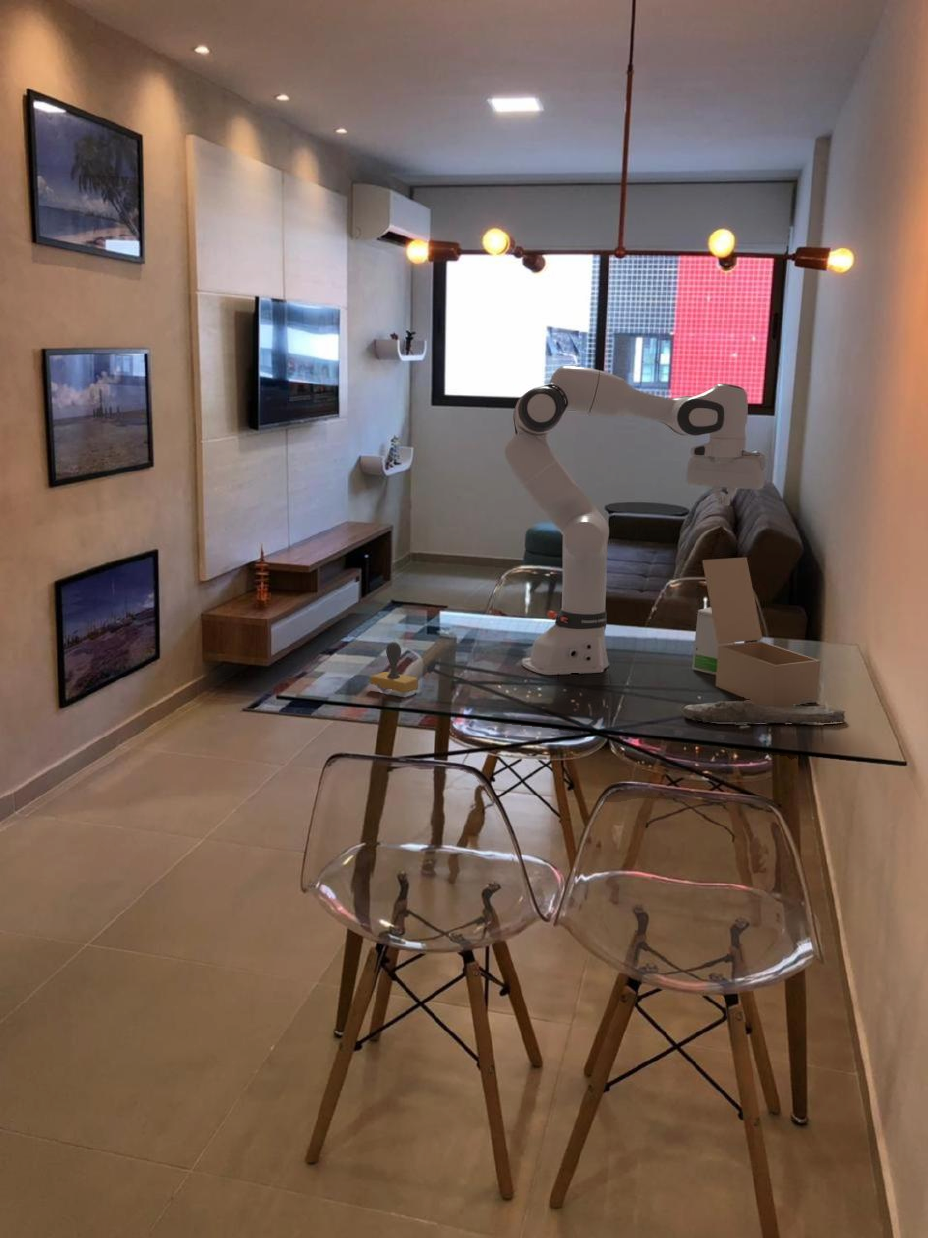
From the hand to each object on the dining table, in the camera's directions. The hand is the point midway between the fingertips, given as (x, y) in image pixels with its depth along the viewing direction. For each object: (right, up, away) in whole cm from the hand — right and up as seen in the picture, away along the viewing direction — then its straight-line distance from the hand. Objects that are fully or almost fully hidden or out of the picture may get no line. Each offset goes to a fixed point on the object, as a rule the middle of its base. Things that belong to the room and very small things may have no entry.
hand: (723, 504), depth 272 cm
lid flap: (-1, -24, -13) cm, 28 cm away
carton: (+5, -47, -21) cm, 51 cm away
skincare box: (-3, -42, -1) cm, 42 cm away
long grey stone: (-1, -52, -40) cm, 65 cm away
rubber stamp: (-82, -46, -24) cm, 97 cm away
